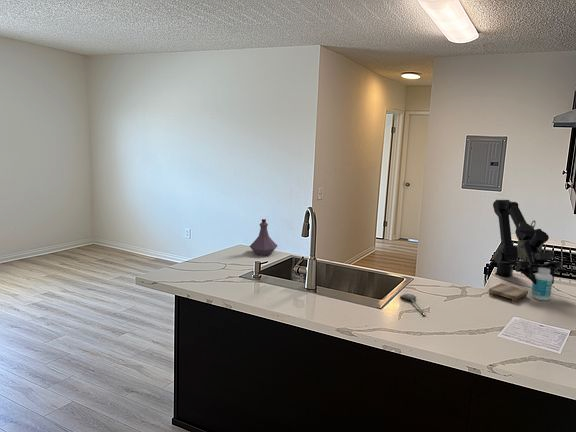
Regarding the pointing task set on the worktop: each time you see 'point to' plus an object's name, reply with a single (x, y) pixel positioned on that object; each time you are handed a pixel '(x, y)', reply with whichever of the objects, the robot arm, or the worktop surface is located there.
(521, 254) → the tabletop clock
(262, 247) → the flask
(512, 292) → the small wooden pallet
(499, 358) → the worktop surface
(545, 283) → the pill bottle
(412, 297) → the soupspoon
